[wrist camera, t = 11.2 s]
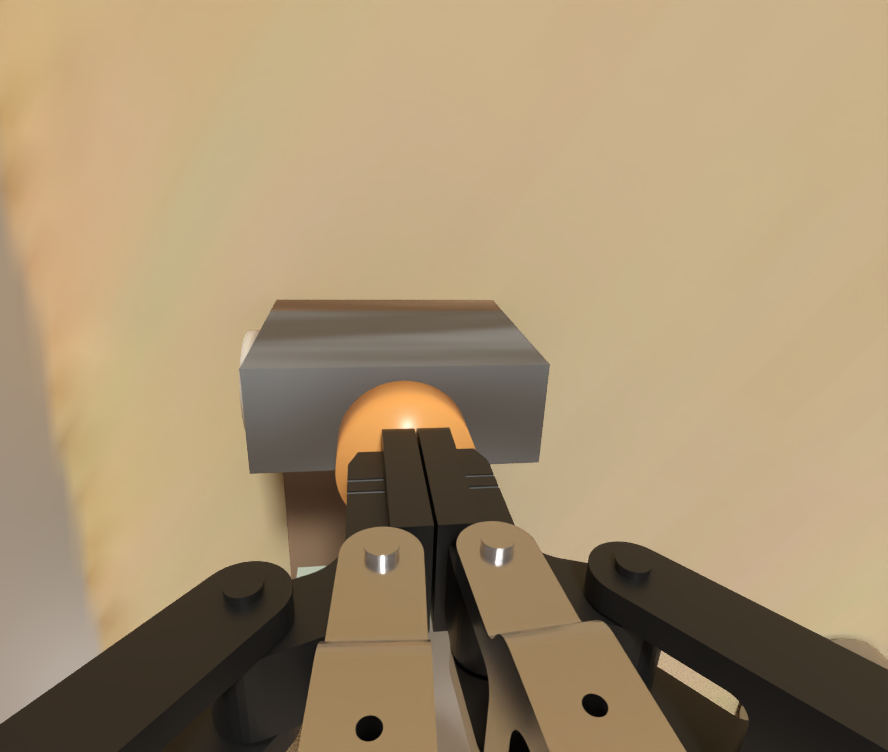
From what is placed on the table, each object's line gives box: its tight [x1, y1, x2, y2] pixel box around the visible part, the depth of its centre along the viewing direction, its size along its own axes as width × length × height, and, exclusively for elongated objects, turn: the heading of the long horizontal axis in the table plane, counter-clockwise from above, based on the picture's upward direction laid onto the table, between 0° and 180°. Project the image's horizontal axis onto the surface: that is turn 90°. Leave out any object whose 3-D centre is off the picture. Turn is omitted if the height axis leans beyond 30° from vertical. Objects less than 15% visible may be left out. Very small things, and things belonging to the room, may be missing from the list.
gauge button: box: [335, 381, 476, 506], centre depth 13 cm, size 3×3×2 cm
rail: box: [239, 300, 550, 579], centre depth 23 cm, size 27×8×7 cm, turn 178°
